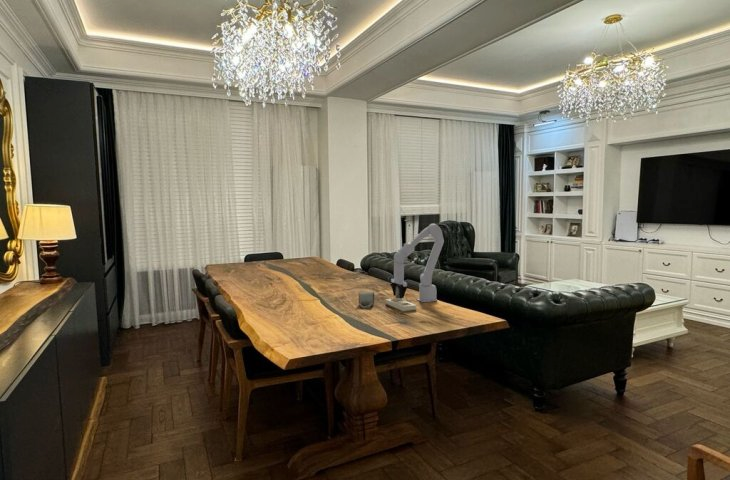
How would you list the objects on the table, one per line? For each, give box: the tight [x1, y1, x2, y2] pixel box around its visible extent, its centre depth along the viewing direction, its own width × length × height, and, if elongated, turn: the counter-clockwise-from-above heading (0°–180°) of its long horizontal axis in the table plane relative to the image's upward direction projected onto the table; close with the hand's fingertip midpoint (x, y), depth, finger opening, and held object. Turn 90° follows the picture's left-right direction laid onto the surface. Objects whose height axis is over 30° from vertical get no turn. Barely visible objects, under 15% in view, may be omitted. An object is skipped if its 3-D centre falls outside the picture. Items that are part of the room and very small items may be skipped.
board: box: [385, 297, 417, 314], centre depth 226 cm, size 8×18×3 cm, turn 27°
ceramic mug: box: [358, 291, 375, 309], centre depth 229 cm, size 11×8×8 cm
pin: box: [395, 286, 403, 300], centre depth 243 cm, size 4×4×8 cm
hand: (398, 296), depth 243 cm, fingers open, 6 cm apart
